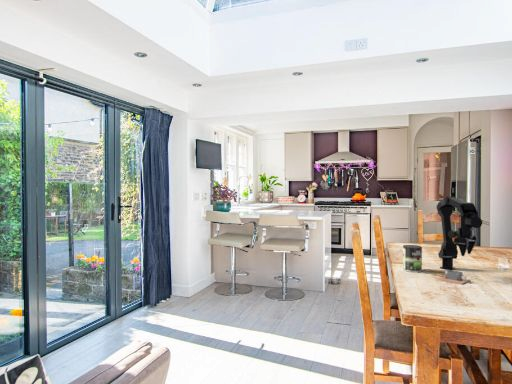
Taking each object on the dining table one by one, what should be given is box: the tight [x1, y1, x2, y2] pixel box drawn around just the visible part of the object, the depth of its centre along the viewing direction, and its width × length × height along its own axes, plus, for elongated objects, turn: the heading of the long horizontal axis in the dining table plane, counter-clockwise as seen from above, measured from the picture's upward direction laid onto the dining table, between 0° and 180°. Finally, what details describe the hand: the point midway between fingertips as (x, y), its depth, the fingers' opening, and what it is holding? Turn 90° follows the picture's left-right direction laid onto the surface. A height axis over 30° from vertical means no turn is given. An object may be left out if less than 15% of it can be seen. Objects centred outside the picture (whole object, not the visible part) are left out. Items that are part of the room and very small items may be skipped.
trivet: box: [436, 275, 471, 285], centre depth 191 cm, size 12×12×1 cm
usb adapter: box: [444, 269, 468, 281], centre depth 190 cm, size 10×4×4 cm, turn 42°
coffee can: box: [402, 244, 423, 273], centre depth 214 cm, size 10×10×14 cm
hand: (466, 255), depth 197 cm, fingers open, 9 cm apart
